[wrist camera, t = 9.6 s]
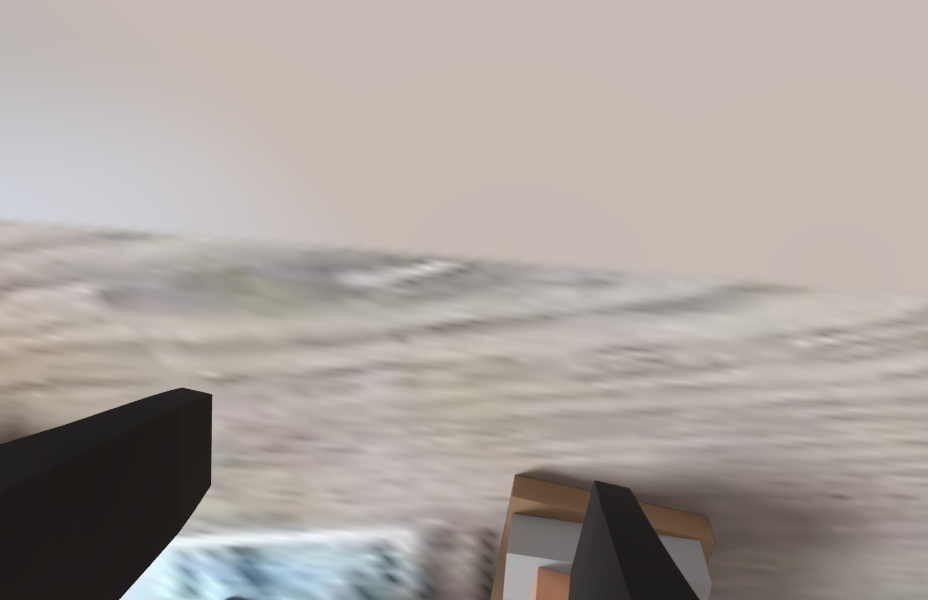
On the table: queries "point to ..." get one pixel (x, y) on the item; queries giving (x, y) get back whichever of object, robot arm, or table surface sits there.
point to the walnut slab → (572, 507)
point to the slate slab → (557, 546)
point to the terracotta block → (550, 585)
